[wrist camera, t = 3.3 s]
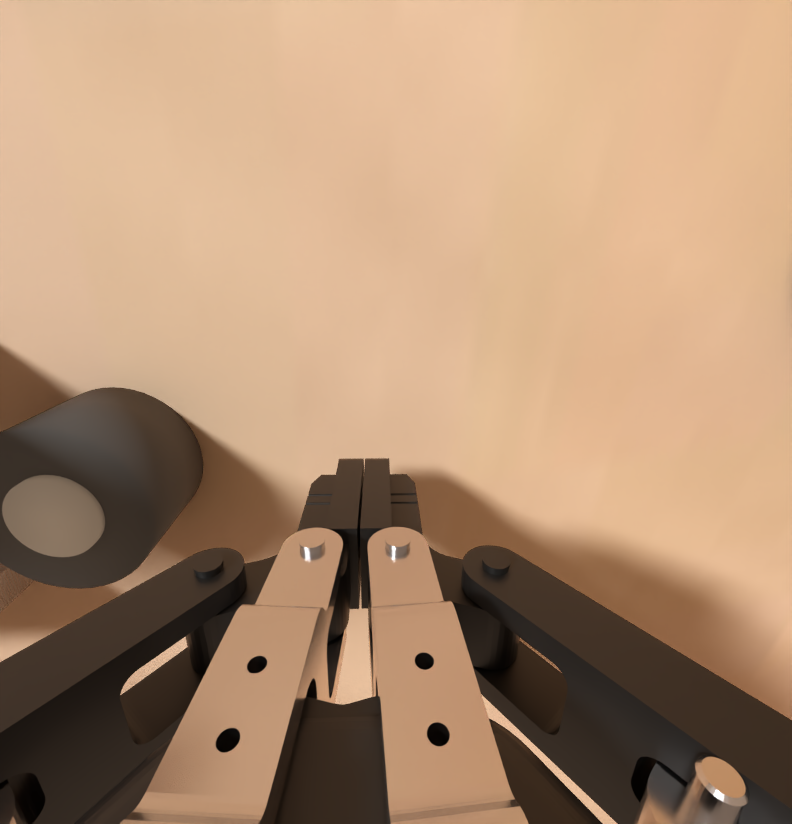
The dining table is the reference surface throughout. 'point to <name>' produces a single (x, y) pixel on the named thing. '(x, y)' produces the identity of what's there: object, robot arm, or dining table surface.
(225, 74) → the dining table surface
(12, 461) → the dark grey tape roll
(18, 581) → the grey rectangular box
